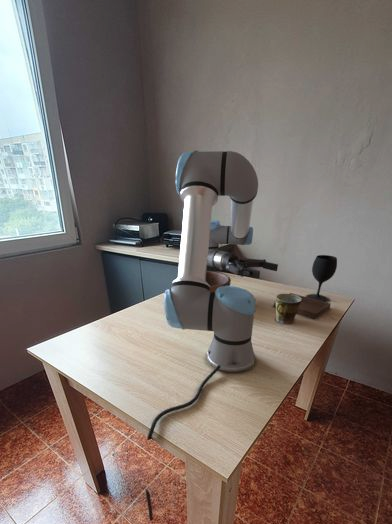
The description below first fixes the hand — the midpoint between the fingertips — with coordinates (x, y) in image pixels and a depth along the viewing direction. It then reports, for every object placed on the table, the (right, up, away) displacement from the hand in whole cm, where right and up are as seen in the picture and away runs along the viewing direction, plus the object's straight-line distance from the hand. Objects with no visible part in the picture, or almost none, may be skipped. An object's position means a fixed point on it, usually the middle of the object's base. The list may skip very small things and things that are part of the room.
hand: (268, 271), depth 115 cm
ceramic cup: (+7, -20, +4) cm, 21 cm away
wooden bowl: (-25, -7, +25) cm, 36 cm away
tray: (+19, -12, +17) cm, 28 cm away
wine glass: (+31, -6, +27) cm, 42 cm away
